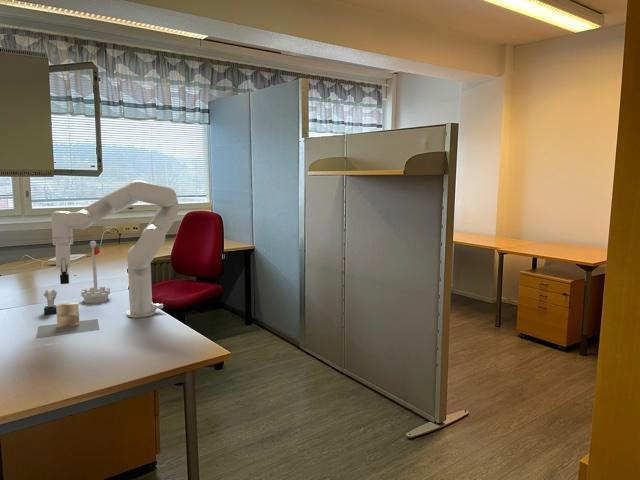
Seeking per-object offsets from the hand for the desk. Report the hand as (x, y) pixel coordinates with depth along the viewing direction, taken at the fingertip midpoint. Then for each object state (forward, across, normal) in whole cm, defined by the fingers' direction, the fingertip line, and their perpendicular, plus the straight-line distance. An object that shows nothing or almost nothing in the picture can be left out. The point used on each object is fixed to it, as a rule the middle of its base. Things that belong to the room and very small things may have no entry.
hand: (64, 283), depth 198 cm
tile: (+16, +8, +1) cm, 18 cm away
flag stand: (+17, -32, +13) cm, 38 cm away
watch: (+17, -16, -6) cm, 24 cm away
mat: (+16, +12, +1) cm, 20 cm away
